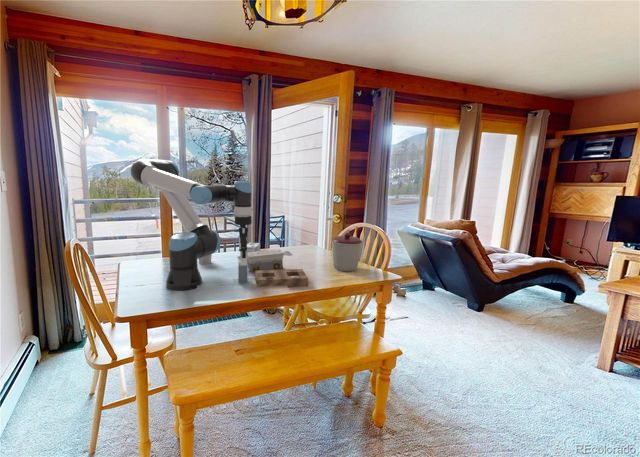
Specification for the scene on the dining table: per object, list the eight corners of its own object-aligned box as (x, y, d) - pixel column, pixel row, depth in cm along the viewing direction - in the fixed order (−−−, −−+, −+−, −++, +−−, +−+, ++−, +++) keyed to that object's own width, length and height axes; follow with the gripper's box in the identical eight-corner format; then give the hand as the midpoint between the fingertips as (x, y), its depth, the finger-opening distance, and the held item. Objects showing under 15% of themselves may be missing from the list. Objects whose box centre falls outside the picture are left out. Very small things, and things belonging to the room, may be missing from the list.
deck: (232, 287, 148) (232, 285, 148) (232, 280, 157) (232, 278, 157) (252, 286, 151) (252, 284, 151) (251, 280, 159) (252, 278, 159)
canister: (325, 271, 178) (327, 233, 174) (333, 262, 195) (335, 228, 191) (358, 275, 174) (361, 237, 170) (363, 266, 191) (365, 231, 187)
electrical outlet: (294, 270, 175) (293, 252, 173) (240, 277, 166) (238, 258, 164) (288, 264, 186) (288, 247, 184) (237, 270, 177) (236, 252, 175)
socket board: (256, 288, 149) (256, 279, 148) (254, 278, 162) (254, 270, 161) (307, 286, 155) (308, 277, 154) (302, 276, 168) (302, 268, 167)
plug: (238, 283, 151) (238, 262, 149) (238, 280, 155) (238, 260, 153) (247, 283, 152) (247, 262, 150) (246, 280, 156) (247, 260, 154)
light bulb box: (249, 259, 193) (249, 242, 191) (260, 260, 193) (260, 242, 191) (243, 265, 183) (243, 246, 181) (255, 265, 182) (255, 247, 180)
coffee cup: (217, 262, 185) (217, 236, 183) (203, 265, 178) (202, 239, 175) (206, 259, 190) (206, 234, 188) (192, 262, 182) (191, 236, 180)
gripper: (252, 219, 137) (253, 268, 141) (250, 211, 161) (250, 253, 164) (234, 219, 135) (235, 268, 139) (234, 211, 159) (235, 254, 163)
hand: (243, 260), depth 152 cm, fingers open, 13 cm apart
